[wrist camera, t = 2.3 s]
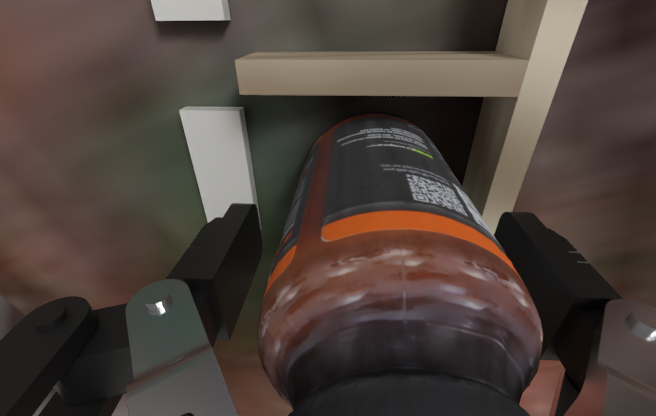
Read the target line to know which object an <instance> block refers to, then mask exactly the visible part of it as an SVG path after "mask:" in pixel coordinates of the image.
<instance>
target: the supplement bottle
mask: <svg viewBox="0 0 656 416" xmlns="http://www.w3.org/2000/svg"><path fill="white" fill-rule="evenodd" d="M257 341H258V351H259V358H260V360H261V363H262V367H263V369H264V371H265V372H266V374H267V377H268V378H269V379H270V382H271V384H272V385H273V387H274V388H275V389H276V390H277V392H278V394H279V395H280V396H281V397H282V398H283V399H284V400H285V401H286V402H287V403H288V404H289V405H290V406H291V407H292V408H293V412H291V413H290V414H289V416H530V415H529V414H528V413H527V412H526V411H525V410H524V409H522V408H521V407H520V406H519V402H520V399H521V396H522V393H523V392H524V391H525V389H526V388H527V387H528V386H529V385H530V383H531V381H532V380H533V378H534V376H535V375H536V373H537V371H538V366H539V362H540V357H541V351H542V341H543V331H542V325H541V320H540V317H539V314H538V312H537V309H536V307H535V304H534V302H533V300H532V298H531V296H530V294H529V292H528V290H527V288H526V286H525V284H524V283H523V281H522V279H521V278H520V276H519V274H518V273H517V271H516V270H515V268H514V267H513V264H512V262H511V261H510V260H509V258H508V257H507V256H506V254H505V252H504V250H503V248H502V247H501V246H500V244H499V243H498V241H497V240H496V238H495V237H494V235H493V234H492V232H491V231H490V229H489V228H488V226H487V225H486V223H485V221H484V220H483V218H482V217H481V215H480V214H479V212H478V211H477V209H476V208H475V206H474V205H473V203H472V201H471V199H470V198H469V196H468V195H467V194H466V192H465V191H464V189H463V188H462V186H461V185H460V183H459V182H458V180H457V179H456V177H455V175H454V174H453V172H452V171H451V169H450V168H449V166H448V164H447V163H446V162H445V160H444V158H443V157H442V155H441V154H440V152H439V150H438V149H437V147H436V146H435V145H434V143H433V142H432V141H431V140H430V139H429V138H428V136H427V135H426V134H425V133H424V132H423V131H422V130H421V129H420V128H418V127H416V126H415V125H413V124H412V123H410V122H408V121H406V120H404V119H402V118H398V117H395V116H392V115H386V114H376V113H375V114H362V115H358V116H354V117H351V118H348V119H346V120H343V121H341V122H340V123H338V124H336V125H334V126H333V127H331V128H330V129H329V130H327V131H326V132H325V133H324V134H323V135H322V136H321V137H319V139H318V140H317V141H316V142H315V144H314V145H313V147H312V149H311V151H310V152H309V154H308V157H307V159H306V161H305V163H304V166H303V169H302V172H301V175H300V179H299V182H298V185H297V189H296V192H295V195H294V198H293V202H292V204H291V208H290V211H289V214H288V218H287V221H286V224H285V227H284V231H283V235H282V238H281V241H280V244H279V247H278V250H277V253H276V256H275V260H274V264H273V267H272V270H271V275H270V279H269V282H268V285H267V288H266V292H265V295H264V299H263V302H262V306H261V310H260V316H259V322H258V327H257ZM300 402H301V403H300Z"/></svg>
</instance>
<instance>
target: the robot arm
mask: <svg viewBox="0 0 656 416" xmlns="http://www.w3.org/2000/svg"><path fill="white" fill-rule="evenodd" d="M494 237H495V238H496V240H497V241H498V243H499V244H500V246H501V247H502V248H503V250H504V252H505V254H506V256H507V257H508V258H509V260H510V261H511V262H512V264H513V267H514V268H515V270H516V271H517V273H518V274H519V276H520V278H521V279H522V281H523V283H524V284H525V286H526V288H527V290H528V292H529V294H530V296H531V298H532V300H533V302H534V304H535V307H536V309H537V312H538V314H539V317H540V320H541V325H542V331H543V341H542V351H541V357H540V360H558V361H561V363H562V365H563V366H564V368H563V370H562V371H561V373H560V375H559V378H558V382H557V386H556V390H555V394H554V398H553V402H552V406H551V410H550V415H549V416H656V309H654V308H652V307H650V306H648V305H645V304H642V303H639V302H636V301H632V300H626V299H623V298H622V297H621V296H620V295H619V294H618V293H617V292H616V291H615V290H614V289H613V288H612V287H611V286H610V285H609V284H608V282H607V281H606V280H605V279H604V278H603V277H602V276H601V275H600V274H599V273H598V272H597V271H596V270H595V269H594V268H593V267H592V266H591V265H590V264H587V260H586V259H585V258H584V257H583V256H582V255H581V254H580V253H577V250H576V249H575V248H574V247H573V246H572V245H571V244H570V243H569V242H568V241H567V240H566V239H565V238H564V237H562V236H560V235H559V234H557V233H556V232H554V231H552V230H551V229H547V228H546V227H545V226H544V225H543V223H542V222H541V221H540V220H539V219H538V218H537V217H536V216H535V215H534V214H533V213H530V212H504V213H503V214H502V215H501V217H500V219H499V222H498V225H497V228H496V231H495V234H494ZM261 254H262V236H261V230H260V223H259V216H258V210H257V206H256V205H255V204H245V203H232V204H231V205H230V207H229V208H228V210H227V211H226V213H225V214H224V216H223V217H216V218H214V219H213V220H212V221H210V222H209V223H207V224H206V225H204V226H203V228H202V229H201V231H200V232H199V233H198V235H197V236H196V239H194V240H193V242H192V243H191V245H190V247H188V249H187V250H186V252H185V253H184V255H183V256H182V257H181V259H180V260H179V262H178V263H177V264H176V266H175V267H174V269H173V270H172V271H171V273H170V274H169V276H168V277H167V278H166V279H164V280H160V281H157V282H154V283H151V284H149V285H147V286H145V287H143V288H142V289H140V290H139V291H138V292H137V293H135V294H134V295H133V296H132V298H131V299H130V300H129V302H128V303H127V304H122V305H117V306H112V307H107V308H102V309H97V310H92V308H91V306H90V305H89V303H88V302H87V300H86V299H84V298H81V297H75V296H73V297H64V298H60V299H56V300H54V301H51V302H48V303H46V304H44V305H42V306H40V307H38V308H37V309H35V310H34V311H32V312H31V313H29V314H28V315H27V316H25V318H23V319H22V320H21V321H20V322H19V323H18V324H17V325H16V326H15V327H14V328H13V329H12V330H11V331H10V332H9V333H8V334H7V335H6V336H5V337H4V338H3V339H2V340H1V341H0V416H32V415H33V414H34V413H35V411H36V410H37V408H38V407H39V406H40V405H41V403H42V402H43V401H44V399H45V398H46V397H47V395H48V394H49V393H50V391H51V390H52V389H53V388H54V389H55V390H56V392H55V394H54V395H53V397H52V398H51V399H50V401H49V402H48V403H47V405H46V406H45V407H44V409H43V410H42V412H41V413H40V414H39V416H111V415H112V413H113V412H114V410H115V408H116V406H117V404H118V403H119V401H120V399H121V397H122V395H123V393H126V395H127V406H128V416H238V415H237V412H236V409H235V407H234V404H233V401H232V399H231V396H230V394H229V391H228V388H227V386H226V383H225V380H224V378H223V375H222V372H221V370H220V367H219V364H218V362H217V359H216V356H215V354H214V351H213V345H214V343H215V341H216V340H230V338H231V335H232V332H233V330H234V327H235V324H236V322H237V319H238V317H239V314H240V311H241V309H242V306H243V303H244V301H245V298H246V296H247V293H248V290H249V288H250V285H251V282H252V280H253V277H254V274H255V272H256V269H257V267H258V264H259V261H260V259H261ZM300 403H301V402H300Z"/></svg>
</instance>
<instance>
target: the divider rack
mask: <svg viewBox="0 0 656 416" xmlns="http://www.w3.org/2000/svg"><path fill="white" fill-rule="evenodd" d="M587 2H588V0H508V2H507V6H506V10H505V14H504V18H503V22H502V26H501V31H500V35H499V39H498V43H497V47H496V51H331V52H254V53H252V54H249V55H247V56H244V57H241V58H239V59H236V60H235V66H236V73H237V79H238V86H239V92H240V95H331V96H469V97H484V99H483V103H482V107H481V111H480V115H479V120H478V124H477V128H476V132H475V136H474V140H473V144H472V148H471V152H470V156H469V160H468V164H467V168H466V172H465V176H464V180H463V184H462V188H463V189H464V191H465V192H466V194H467V195H468V196H469V198H470V199H471V201H472V203H473V205H474V206H475V208H476V209H477V211H478V212H479V214H480V215H481V217H482V218H483V220H484V221H485V223H486V225H487V226H488V228H489V229H490V231H491V232H492V234H493V235H494V234H495V231H496V228H497V225H498V222H499V219H500V217H501V215H502V214H503V213H504V212H512V210H513V208H514V205H515V202H516V199H517V196H518V194H519V191H520V188H521V185H522V183H523V180H524V177H525V174H526V171H527V169H528V166H529V163H530V160H531V158H532V155H533V152H534V149H535V146H536V144H537V141H538V138H539V135H540V133H541V130H542V127H543V124H544V122H545V119H546V116H547V113H548V110H549V108H550V105H551V102H552V99H553V97H554V94H555V91H556V88H557V85H558V83H559V80H560V77H561V74H562V72H563V69H564V66H565V63H566V60H567V58H568V55H569V52H570V49H571V47H572V44H573V41H574V38H575V35H576V33H577V30H578V27H579V24H580V22H581V19H582V16H583V13H584V11H585V8H586V5H587ZM278 247H279V246H278ZM277 250H278V249H277ZM276 253H277V252H276ZM275 256H276V255H275ZM274 260H275V258H274ZM273 264H274V261H273ZM272 267H273V265H272ZM271 270H272V268H271ZM270 275H271V271H270V274H269V277H268V282H269V279H270Z"/></svg>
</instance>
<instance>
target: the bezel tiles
mask: <svg viewBox="0 0 656 416" xmlns="http://www.w3.org/2000/svg"><path fill="white" fill-rule="evenodd" d="M151 3H152V7H153V11H154V15H155V19H156V21H203V20H231V18H230V12H229V5H228V0H151ZM179 112H180V116H181V120H182V124H183V128H184V132H185V136H186V140H187V143H188V147H189V151H190V155H191V159H192V163H193V167H194V171H195V175H196V178H197V182H198V186H199V190H200V194H201V198H202V202H203V206H204V210H205V214H206V217H207V221H208V223H209V222H210V221H212V220H213V219H214V218H216V217H223V216H224V214H225V213H226V211H227V210H228V208H229V207H230V205H231V204H232V203H245V204H255V205H256V206H257V210H258V216H259V223H260V230H261V221H260V214H259V208H258V201H257V194H256V187H255V181H254V174H253V167H252V160H251V154H250V147H249V140H248V133H247V126H246V120H245V113H244V107H195V106H186V107H184V108H182V109H180V110H179Z"/></svg>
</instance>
